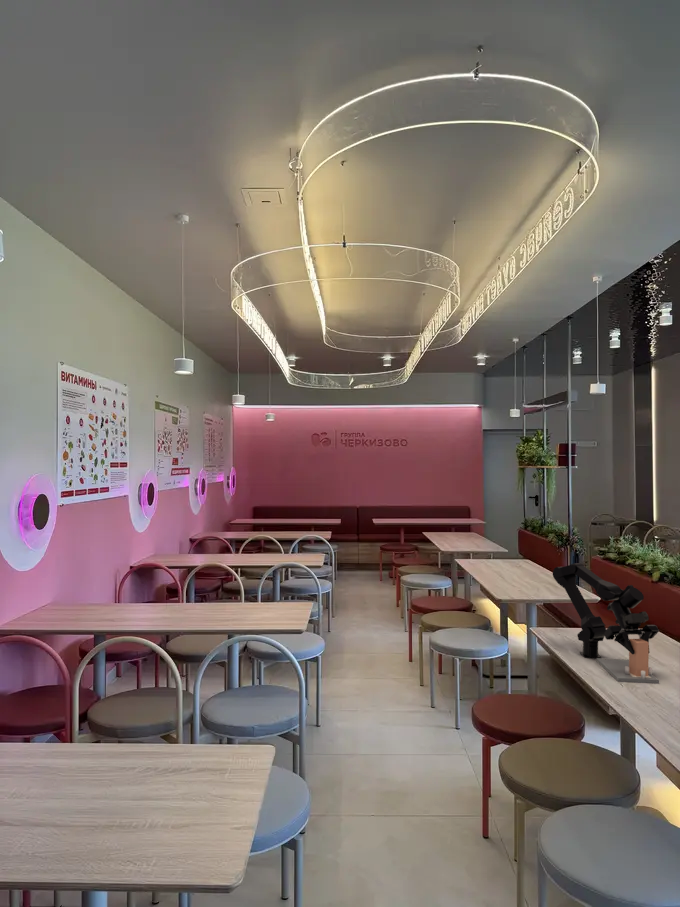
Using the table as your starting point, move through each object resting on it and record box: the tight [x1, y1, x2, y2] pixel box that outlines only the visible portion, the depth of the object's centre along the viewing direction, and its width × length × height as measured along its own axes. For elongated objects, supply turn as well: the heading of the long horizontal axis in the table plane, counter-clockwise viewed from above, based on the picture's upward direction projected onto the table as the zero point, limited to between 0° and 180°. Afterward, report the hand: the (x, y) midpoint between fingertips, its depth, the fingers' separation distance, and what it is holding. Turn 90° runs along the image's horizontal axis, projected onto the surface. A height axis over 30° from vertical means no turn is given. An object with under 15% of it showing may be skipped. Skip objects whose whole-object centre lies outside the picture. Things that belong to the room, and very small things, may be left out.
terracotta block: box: [628, 638, 650, 676], centre depth 218 cm, size 4×4×12 cm
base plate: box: [595, 657, 660, 684], centre depth 224 cm, size 22×14×4 cm, turn 176°
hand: (641, 653), depth 216 cm, fingers open, 5 cm apart
